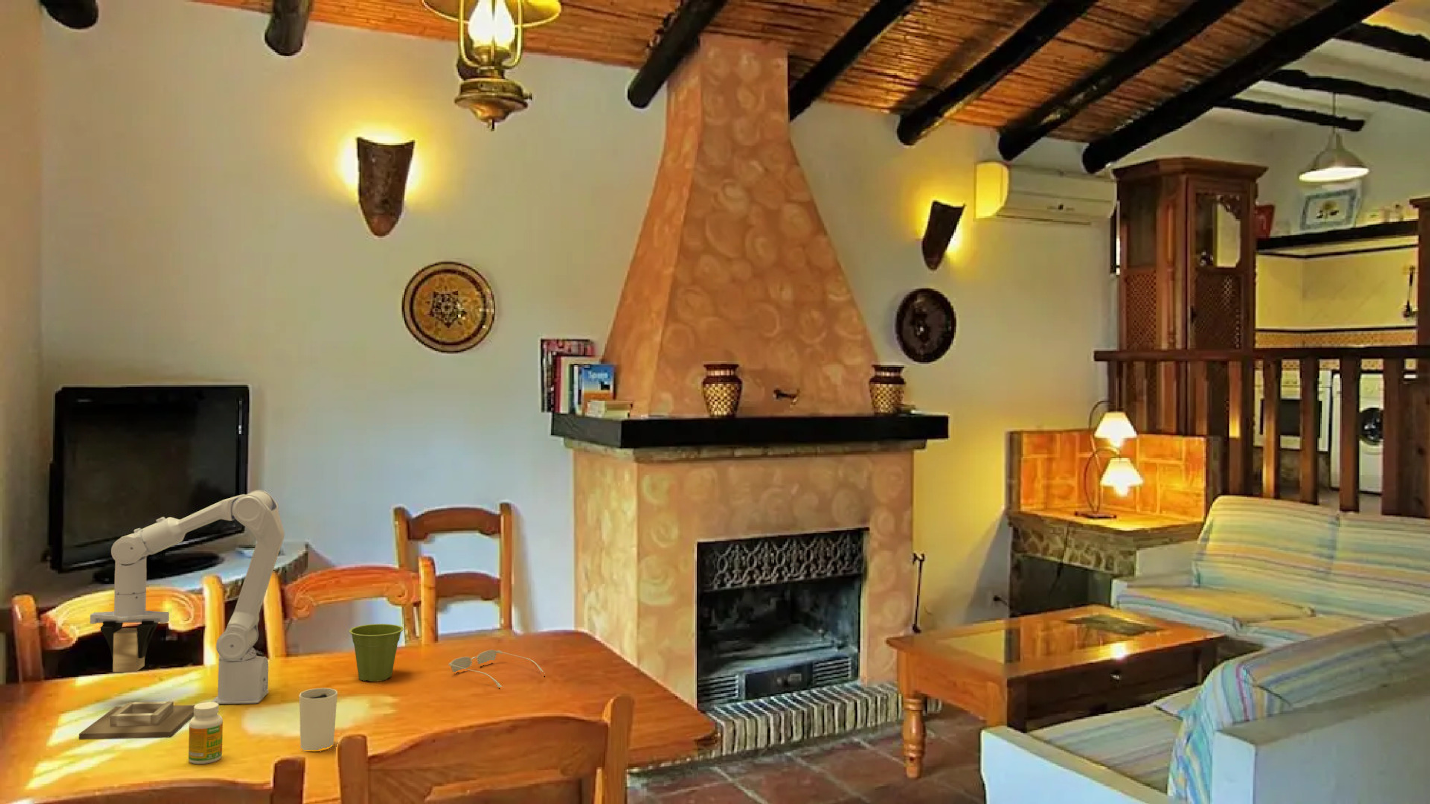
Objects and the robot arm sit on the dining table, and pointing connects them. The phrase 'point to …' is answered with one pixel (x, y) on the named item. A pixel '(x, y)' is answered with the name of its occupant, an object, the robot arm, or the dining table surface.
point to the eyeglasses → (481, 658)
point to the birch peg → (126, 651)
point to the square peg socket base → (140, 721)
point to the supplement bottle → (205, 734)
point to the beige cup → (317, 718)
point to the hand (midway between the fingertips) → (129, 657)
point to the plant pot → (375, 650)
